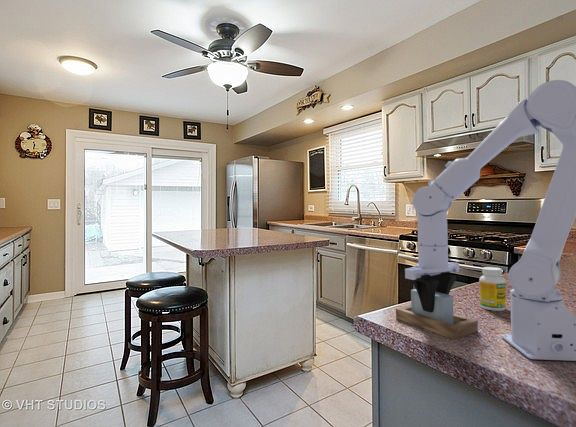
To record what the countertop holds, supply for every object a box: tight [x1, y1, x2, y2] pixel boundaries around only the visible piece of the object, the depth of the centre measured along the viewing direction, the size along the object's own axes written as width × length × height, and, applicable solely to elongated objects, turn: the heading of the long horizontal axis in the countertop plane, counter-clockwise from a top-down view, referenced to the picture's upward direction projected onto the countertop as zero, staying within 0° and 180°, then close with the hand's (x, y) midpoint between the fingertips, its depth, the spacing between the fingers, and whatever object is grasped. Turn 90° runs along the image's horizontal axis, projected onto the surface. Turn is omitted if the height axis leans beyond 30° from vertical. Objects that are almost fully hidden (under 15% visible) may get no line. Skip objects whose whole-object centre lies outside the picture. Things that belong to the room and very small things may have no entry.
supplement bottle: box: [478, 266, 507, 312], centre depth 79 cm, size 5×5×10 cm
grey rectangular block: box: [410, 288, 455, 324], centre depth 69 cm, size 8×3×6 cm, turn 28°
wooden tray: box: [395, 305, 479, 340], centre depth 69 cm, size 14×7×2 cm, turn 28°
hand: (433, 309), depth 69 cm, fingers closed on grey rectangular block, 3 cm apart
